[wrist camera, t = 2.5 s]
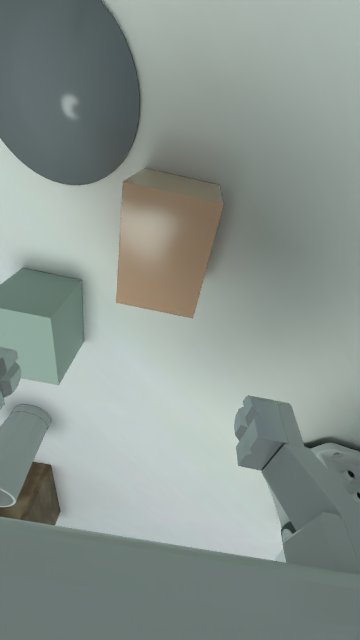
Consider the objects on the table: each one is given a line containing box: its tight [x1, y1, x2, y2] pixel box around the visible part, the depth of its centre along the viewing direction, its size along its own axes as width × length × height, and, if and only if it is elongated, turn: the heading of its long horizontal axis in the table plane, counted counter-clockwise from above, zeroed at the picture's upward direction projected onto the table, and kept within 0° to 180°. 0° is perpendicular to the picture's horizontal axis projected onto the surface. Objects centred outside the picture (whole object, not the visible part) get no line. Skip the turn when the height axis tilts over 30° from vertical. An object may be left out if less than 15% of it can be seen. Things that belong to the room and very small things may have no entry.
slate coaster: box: [0, 0, 140, 185], centre depth 20 cm, size 12×12×1 cm
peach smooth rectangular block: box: [116, 168, 224, 318], centre depth 22 cm, size 6×9×7 cm
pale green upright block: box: [0, 268, 84, 385], centre depth 28 cm, size 6×9×7 cm
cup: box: [0, 405, 51, 507], centre depth 40 cm, size 8×8×12 cm
